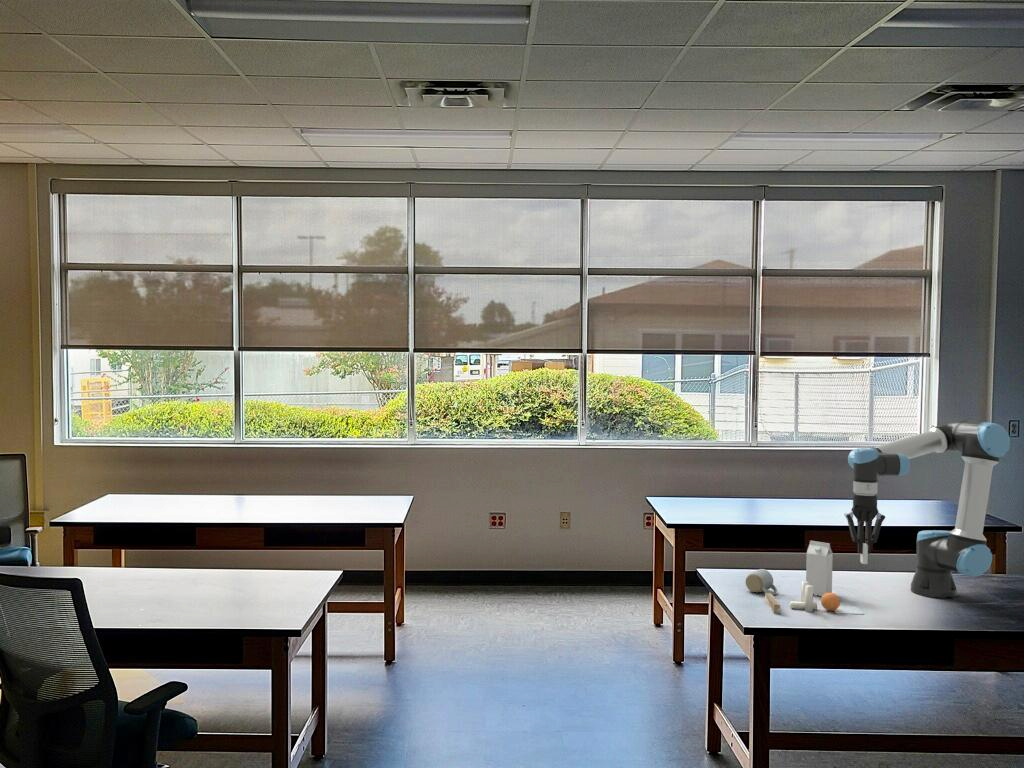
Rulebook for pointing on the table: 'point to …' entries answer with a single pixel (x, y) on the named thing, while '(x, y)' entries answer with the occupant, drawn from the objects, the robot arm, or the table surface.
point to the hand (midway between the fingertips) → (863, 563)
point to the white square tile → (847, 610)
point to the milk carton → (819, 567)
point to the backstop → (772, 603)
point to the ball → (830, 601)
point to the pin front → (801, 605)
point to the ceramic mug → (760, 582)
